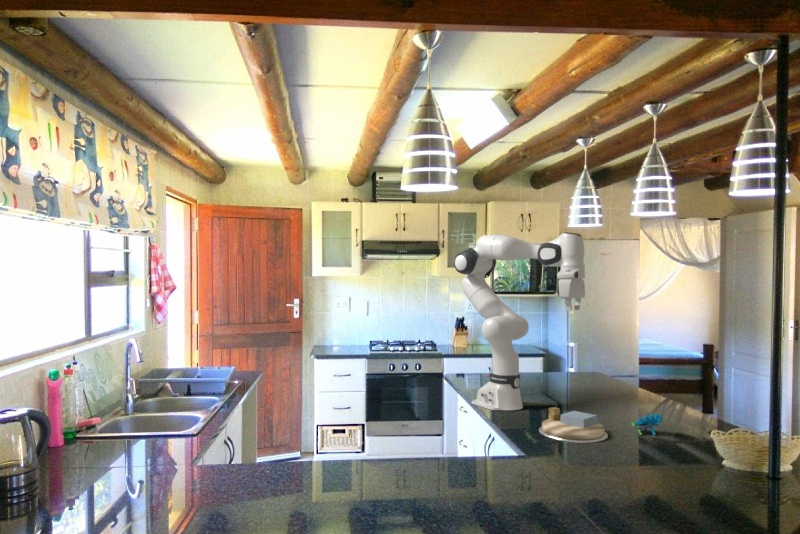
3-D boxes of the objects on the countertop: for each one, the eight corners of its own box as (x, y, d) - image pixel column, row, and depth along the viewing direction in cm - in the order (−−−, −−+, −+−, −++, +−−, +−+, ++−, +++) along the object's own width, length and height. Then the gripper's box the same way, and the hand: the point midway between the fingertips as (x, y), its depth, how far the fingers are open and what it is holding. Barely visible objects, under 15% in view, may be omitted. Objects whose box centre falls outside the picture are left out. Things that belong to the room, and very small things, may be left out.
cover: (560, 423, 190) (560, 414, 190) (574, 418, 196) (573, 410, 196) (583, 428, 183) (583, 419, 183) (596, 423, 189) (596, 415, 189)
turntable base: (525, 432, 188) (525, 430, 188) (561, 421, 203) (561, 420, 203) (585, 447, 170) (585, 445, 171) (620, 434, 186) (620, 432, 186)
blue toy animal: (656, 424, 192) (664, 410, 185) (664, 439, 187) (672, 425, 180) (626, 429, 191) (633, 414, 184) (634, 444, 187) (641, 430, 180)
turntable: (618, 435, 182) (618, 417, 182) (571, 442, 173) (571, 424, 173) (573, 420, 201) (573, 404, 201) (529, 427, 192) (529, 410, 192)
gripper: (573, 274, 214) (573, 309, 213) (555, 273, 197) (556, 311, 196) (589, 274, 210) (589, 309, 209) (572, 273, 193) (573, 311, 193)
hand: (573, 310), depth 203 cm, fingers open, 8 cm apart
